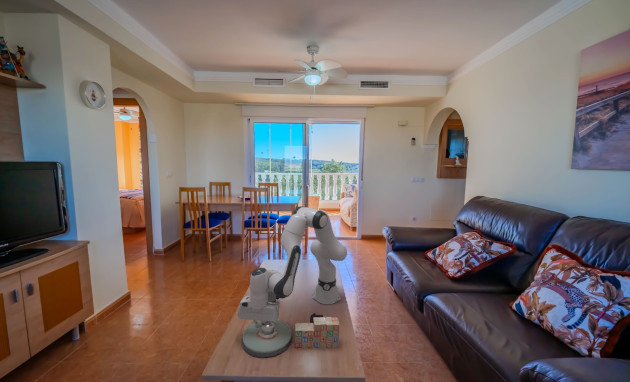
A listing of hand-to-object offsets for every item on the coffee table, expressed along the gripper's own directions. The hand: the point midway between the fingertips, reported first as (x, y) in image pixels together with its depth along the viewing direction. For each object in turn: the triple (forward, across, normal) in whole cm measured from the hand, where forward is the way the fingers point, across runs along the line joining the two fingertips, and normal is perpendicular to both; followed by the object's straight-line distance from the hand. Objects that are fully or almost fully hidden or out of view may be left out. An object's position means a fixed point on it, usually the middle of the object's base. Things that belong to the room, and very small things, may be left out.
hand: (258, 327), depth 129 cm
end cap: (+6, -29, -11) cm, 31 cm away
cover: (+3, -5, 0) cm, 6 cm away
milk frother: (+6, +5, -30) cm, 31 cm away
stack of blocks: (+6, -30, 0) cm, 30 cm away
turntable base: (+6, -5, 0) cm, 8 cm away
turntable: (+4, -5, 0) cm, 6 cm away
